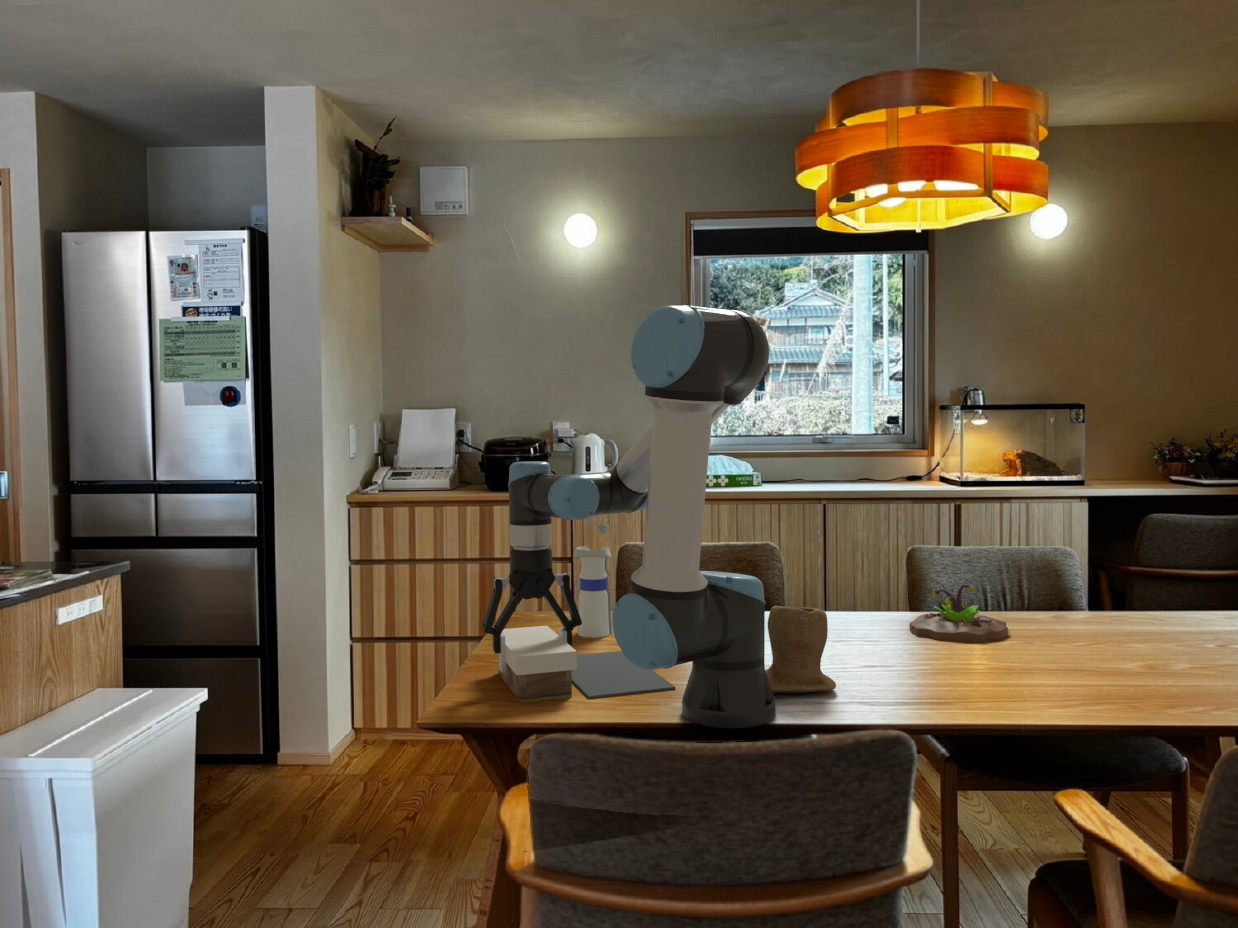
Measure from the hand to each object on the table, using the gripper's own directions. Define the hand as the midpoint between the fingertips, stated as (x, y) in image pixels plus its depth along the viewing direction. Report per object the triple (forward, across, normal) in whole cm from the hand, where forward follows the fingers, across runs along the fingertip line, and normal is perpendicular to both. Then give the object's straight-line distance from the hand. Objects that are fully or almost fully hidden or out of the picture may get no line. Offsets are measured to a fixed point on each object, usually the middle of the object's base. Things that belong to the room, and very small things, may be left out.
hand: (533, 667), depth 173 cm
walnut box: (+3, 0, 0) cm, 3 cm away
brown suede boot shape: (+3, -42, +19) cm, 46 cm away
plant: (+4, -98, -7) cm, 98 cm away
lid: (-2, 0, 0) cm, 2 cm away
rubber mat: (+3, -15, -2) cm, 15 cm away
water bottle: (+3, -22, -35) cm, 42 cm away
